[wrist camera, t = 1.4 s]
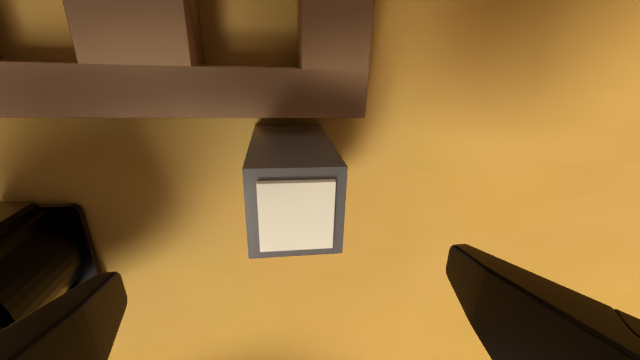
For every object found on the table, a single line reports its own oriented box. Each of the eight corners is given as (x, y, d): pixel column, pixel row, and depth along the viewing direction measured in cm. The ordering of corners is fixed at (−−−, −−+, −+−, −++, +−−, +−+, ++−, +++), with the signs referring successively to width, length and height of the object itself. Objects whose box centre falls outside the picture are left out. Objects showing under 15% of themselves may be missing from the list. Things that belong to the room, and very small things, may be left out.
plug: (318, 183, 21) (343, 257, 13) (258, 185, 20) (248, 263, 12) (319, 125, 19) (349, 169, 12) (255, 125, 19) (241, 171, 11)
